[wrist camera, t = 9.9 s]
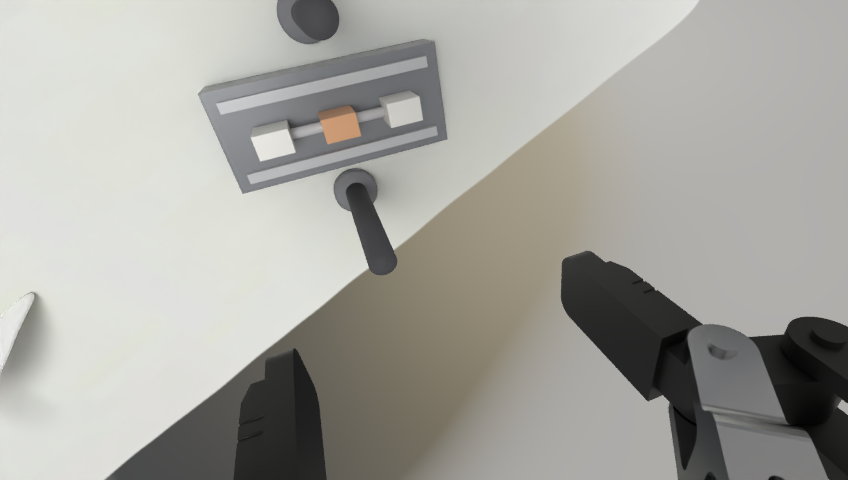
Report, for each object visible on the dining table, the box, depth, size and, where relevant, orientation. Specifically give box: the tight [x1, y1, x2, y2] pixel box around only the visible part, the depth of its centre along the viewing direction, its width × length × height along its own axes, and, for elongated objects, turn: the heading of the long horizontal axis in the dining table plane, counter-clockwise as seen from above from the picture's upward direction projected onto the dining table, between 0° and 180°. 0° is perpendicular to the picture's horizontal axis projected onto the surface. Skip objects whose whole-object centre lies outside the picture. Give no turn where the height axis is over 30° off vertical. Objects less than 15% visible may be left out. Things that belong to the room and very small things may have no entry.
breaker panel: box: [198, 39, 447, 194], centre depth 33 cm, size 18×8×4 cm, turn 100°
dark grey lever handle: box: [334, 169, 397, 275], centre depth 33 cm, size 4×4×14 cm
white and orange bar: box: [251, 90, 423, 162], centre depth 31 cm, size 13×2×3 cm, turn 100°
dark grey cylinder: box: [277, 0, 339, 44], centre depth 25 cm, size 4×4×14 cm
